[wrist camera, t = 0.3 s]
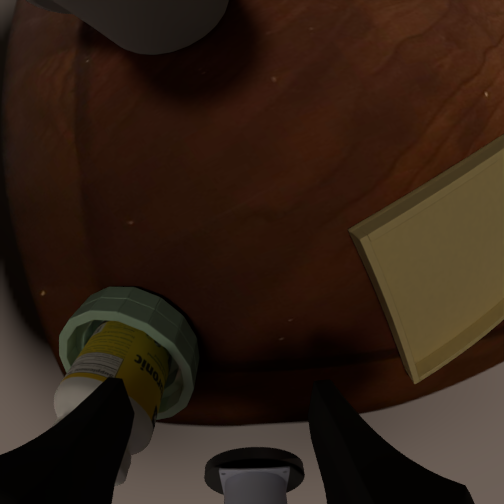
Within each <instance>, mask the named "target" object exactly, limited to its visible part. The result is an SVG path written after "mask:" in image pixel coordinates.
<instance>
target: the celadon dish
mask: <svg viewBox="0 0 504 504" xmlns="http://www.w3.org/2000/svg"><path fill="white" fill-rule="evenodd" d="M104 320H106V321H119V322H121V323H124V324H126V325H129V326H131V327H134V328H136V329H139V330H141V331H144V332H145V333H146V334H148V335H149V336H150V337H151V338H153V339H154V340H155V341H157V342H158V343H159V344H161V345H162V346H163V347H165V348H166V349H167V350H168V352H169V353H170V355H171V356H172V362H171V367H170V371H169V374H168V377H167V381H166V385H165V388H164V392H163V396H162V399H161V403H160V407H159V411H158V414H157V418H156V420H158V419H163V418H168V417H172V416H173V415H175V414H176V413H178V412H179V411H181V410H182V409H183V408H185V407H186V406H187V405H188V402H189V400H190V398H191V395H192V393H193V390H194V386H195V381H196V375H197V369H198V364H199V350H198V343H197V337H196V335H195V334H194V332H193V330H192V329H191V327H190V326H189V324H188V322H187V321H186V319H185V317H184V316H183V315H182V314H181V313H180V312H178V311H177V310H176V309H175V308H173V307H172V306H171V305H170V304H169V303H167V302H166V301H165V300H164V299H162V298H161V297H159V296H156V295H154V294H151V293H148V292H146V291H143V290H141V289H138V288H135V287H108V288H106V289H103V290H101V291H99V292H97V293H95V294H93V295H91V296H89V298H88V299H87V300H86V301H85V302H84V303H83V304H82V305H81V307H80V308H79V309H78V310H77V311H76V312H75V313H74V315H73V316H72V317H71V318H70V319H69V321H68V322H67V324H66V325H65V327H64V329H63V330H62V332H61V333H60V336H59V355H60V358H61V361H62V363H63V365H64V368H65V370H66V372H68V371H69V369H70V368H71V366H72V365H73V363H74V361H75V360H76V358H77V357H78V356H79V354H80V353H81V351H82V350H83V348H84V347H85V345H86V344H87V342H88V341H89V339H90V338H91V336H92V335H93V333H94V332H95V330H96V329H97V328H98V326H99V325H100V324H101V323H102V322H103V321H104Z"/></svg>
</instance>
